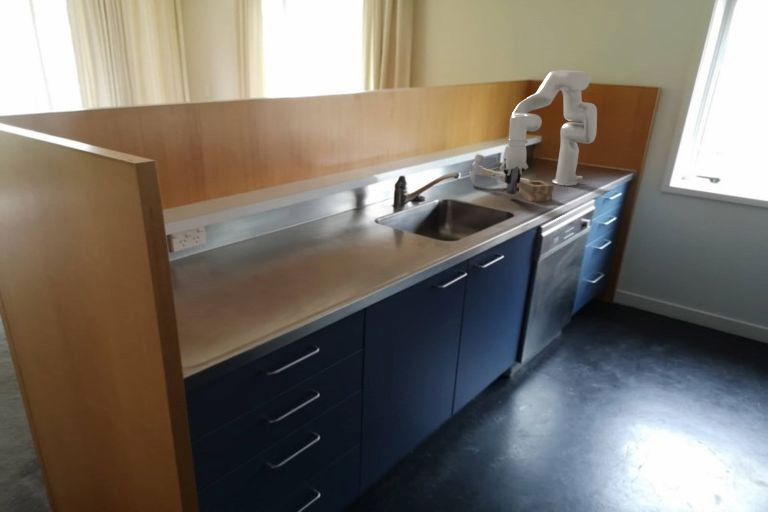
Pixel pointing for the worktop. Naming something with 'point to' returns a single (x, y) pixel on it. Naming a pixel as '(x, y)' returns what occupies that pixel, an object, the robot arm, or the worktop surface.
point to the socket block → (535, 190)
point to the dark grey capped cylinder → (513, 181)
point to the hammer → (486, 171)
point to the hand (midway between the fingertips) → (512, 182)
